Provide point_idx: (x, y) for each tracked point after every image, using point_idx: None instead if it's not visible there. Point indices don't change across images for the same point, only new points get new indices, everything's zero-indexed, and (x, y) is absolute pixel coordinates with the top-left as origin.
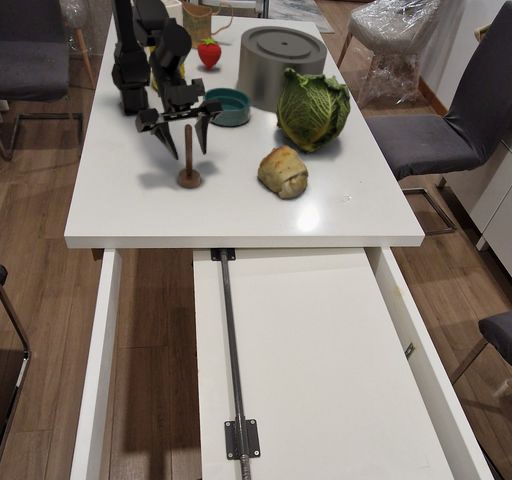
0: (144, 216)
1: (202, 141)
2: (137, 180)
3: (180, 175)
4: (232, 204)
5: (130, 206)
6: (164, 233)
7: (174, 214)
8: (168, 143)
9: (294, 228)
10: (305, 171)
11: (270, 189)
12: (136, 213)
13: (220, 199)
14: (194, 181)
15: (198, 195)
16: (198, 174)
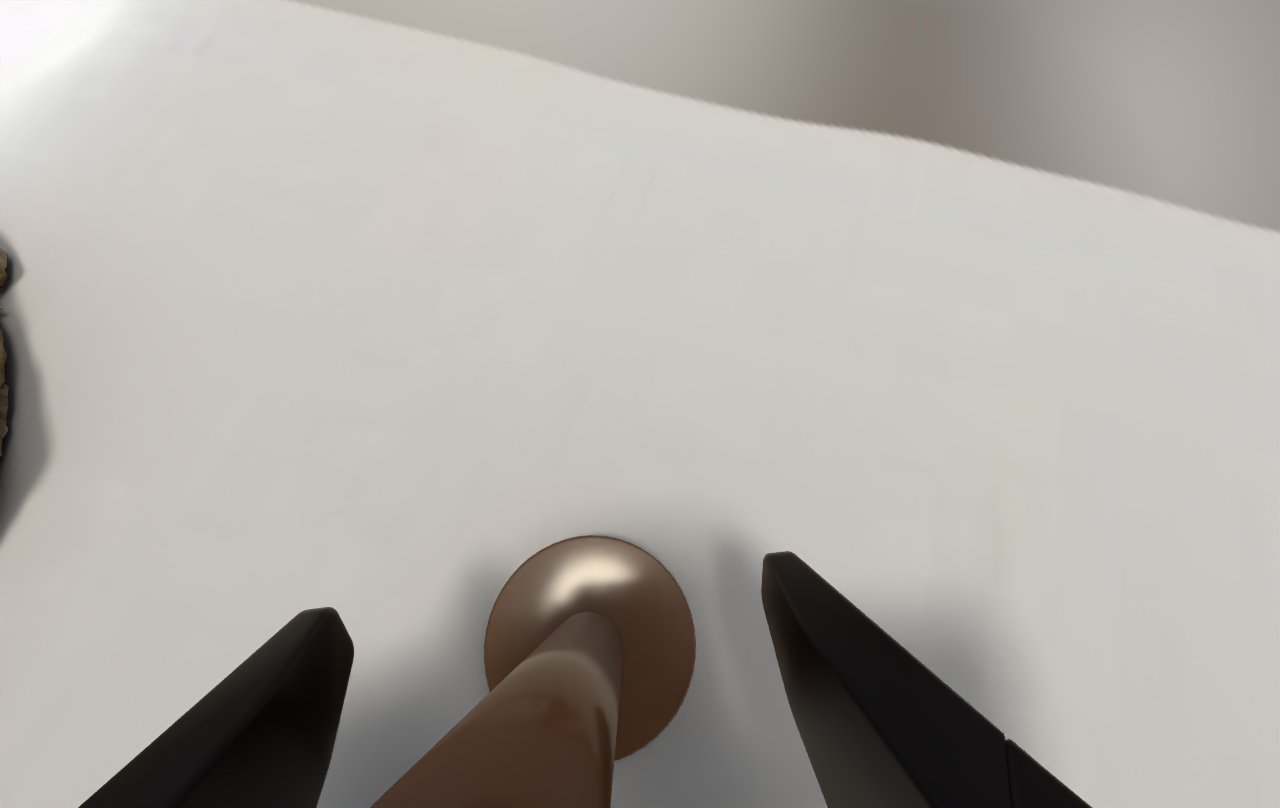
0: (1009, 310)
1: (212, 785)
2: None
3: (679, 645)
4: (386, 284)
5: (1101, 432)
6: (903, 144)
7: (810, 282)
8: (1010, 759)
9: (143, 9)
10: None
11: (5, 355)
12: (1060, 350)
13: (442, 355)
14: (574, 539)
15: (584, 438)
16: (503, 620)
